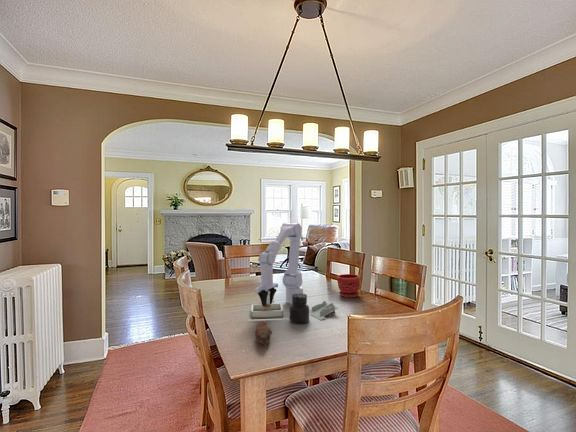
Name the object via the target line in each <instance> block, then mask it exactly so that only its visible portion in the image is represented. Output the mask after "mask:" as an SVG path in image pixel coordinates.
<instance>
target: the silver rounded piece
mask: <svg viewBox="0 0 576 432" xmlns="http://www.w3.org/2000/svg"><path fill="white" fill-rule="evenodd" d="M265 291H266V292H268V295H267V302H266V306H263V305H262V309H261V311H272V309H271V305H270V294H271V290H265Z"/></svg>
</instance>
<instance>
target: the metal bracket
mask: <svg viewBox="0 0 576 432" xmlns="http://www.w3.org/2000/svg"><path fill="white" fill-rule="evenodd" d="M338 309H339V307H337V306H335V304H333V302H331V303H328V302H327V301H325V300H323V301H322V302H321V303H317V304H315V305H314V306H312V307H311V309H310V308H309V316H311V317H313V318H315V319H316V318H317V319H316V320H318V321H323V320H325V319H326V316H327V315H329V314H331V313H333V314H334V313H336V310H338Z"/></svg>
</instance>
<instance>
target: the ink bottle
mask: <svg viewBox="0 0 576 432" xmlns="http://www.w3.org/2000/svg"><path fill="white" fill-rule="evenodd" d="M307 302H308V295H307V294H305V293H303V294H302V293H296V294H293V295H292V304H291V305H290V307H289V322H290V323H292V324H297V325H302V324H303V325H304V324H307V323H309V321H310V313H309V309H310V306H309V305H308V303H307Z"/></svg>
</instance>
